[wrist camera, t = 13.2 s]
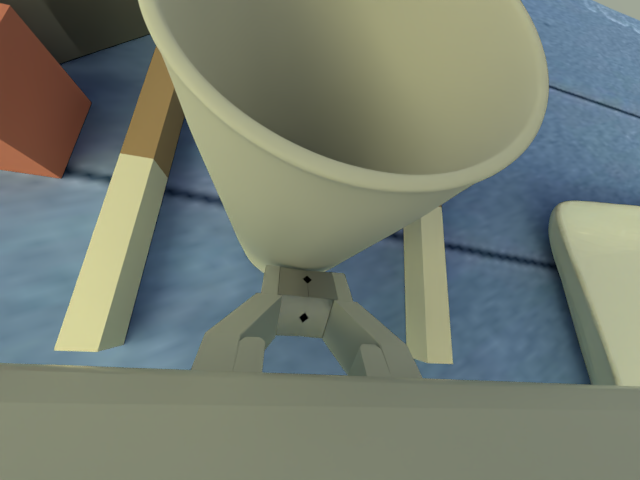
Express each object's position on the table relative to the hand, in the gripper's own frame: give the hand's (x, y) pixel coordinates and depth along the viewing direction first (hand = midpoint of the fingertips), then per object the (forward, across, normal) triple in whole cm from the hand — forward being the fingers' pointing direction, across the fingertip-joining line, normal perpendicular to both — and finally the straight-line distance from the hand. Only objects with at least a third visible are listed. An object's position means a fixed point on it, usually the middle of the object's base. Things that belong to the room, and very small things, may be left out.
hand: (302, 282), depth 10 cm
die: (+8, +15, -2) cm, 18 cm away
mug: (+7, 0, 0) cm, 7 cm away
